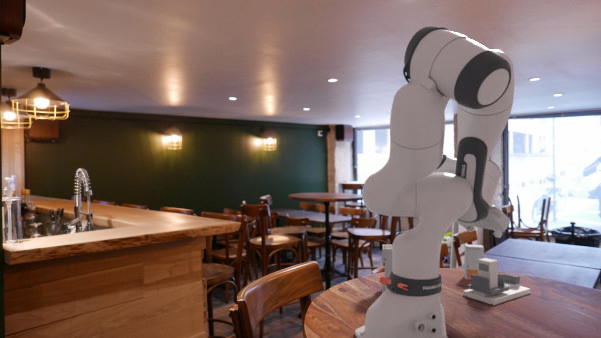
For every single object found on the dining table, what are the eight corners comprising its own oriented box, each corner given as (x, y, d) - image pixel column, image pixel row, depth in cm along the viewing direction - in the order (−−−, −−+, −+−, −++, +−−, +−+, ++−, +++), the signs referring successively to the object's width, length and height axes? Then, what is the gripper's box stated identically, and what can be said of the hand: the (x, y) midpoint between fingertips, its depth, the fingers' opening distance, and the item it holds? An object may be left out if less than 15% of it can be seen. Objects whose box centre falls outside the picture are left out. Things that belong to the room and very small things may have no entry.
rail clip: (490, 299, 112) (490, 280, 112) (466, 291, 119) (466, 273, 119) (527, 287, 123) (527, 270, 122) (502, 281, 129) (502, 265, 129)
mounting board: (493, 305, 111) (493, 300, 111) (463, 295, 120) (463, 290, 120) (530, 293, 122) (530, 288, 122) (499, 284, 130) (499, 280, 130)
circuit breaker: (430, 300, 115) (430, 250, 115) (382, 297, 118) (382, 248, 118) (427, 292, 122) (427, 245, 122) (381, 289, 125) (381, 244, 125)
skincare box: (465, 279, 136) (465, 246, 136) (464, 276, 140) (464, 243, 140) (484, 281, 134) (484, 247, 134) (482, 278, 138) (482, 244, 138)
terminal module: (489, 288, 115) (489, 262, 115) (477, 285, 119) (477, 259, 118) (497, 286, 117) (497, 260, 117) (485, 283, 121) (485, 257, 121)
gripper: (500, 197, 102) (523, 230, 107) (441, 191, 121) (462, 220, 125) (489, 214, 101) (512, 248, 105) (430, 206, 119) (452, 235, 123)
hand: (484, 233), depth 115 cm, fingers open, 8 cm apart
